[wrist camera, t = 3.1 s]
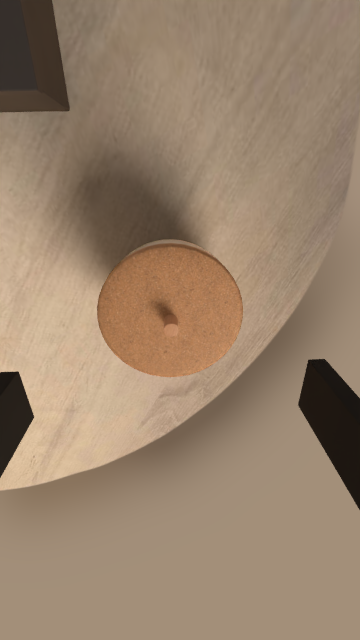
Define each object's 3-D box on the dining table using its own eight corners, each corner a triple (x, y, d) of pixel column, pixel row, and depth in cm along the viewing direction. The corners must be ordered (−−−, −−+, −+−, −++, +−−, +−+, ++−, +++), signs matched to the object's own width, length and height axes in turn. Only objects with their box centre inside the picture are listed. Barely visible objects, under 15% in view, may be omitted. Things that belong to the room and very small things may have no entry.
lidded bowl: (103, 315, 29) (77, 371, 20) (131, 210, 24) (112, 225, 16) (200, 343, 30) (212, 405, 22) (242, 251, 26) (277, 283, 18)
